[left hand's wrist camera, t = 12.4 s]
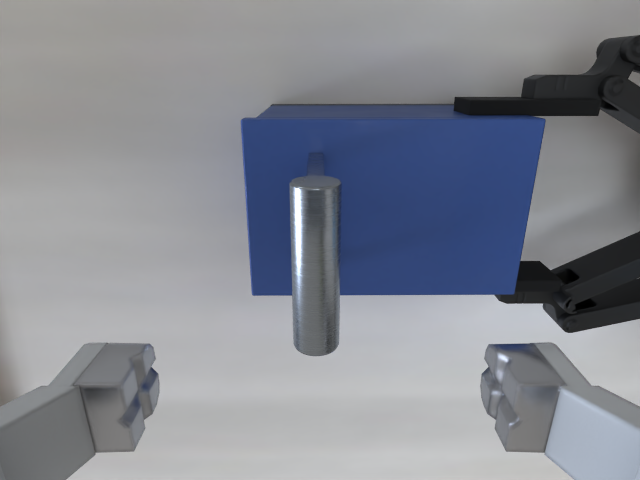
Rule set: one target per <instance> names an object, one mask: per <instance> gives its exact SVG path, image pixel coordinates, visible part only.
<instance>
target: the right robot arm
mask: <svg viewBox="0 0 640 480" xmlns="http://www.w3.org/2000/svg"><path fill="white" fill-rule="evenodd" d="M596 54H597V60H596V62H595V63H594V65H593V66H592V68H591V69H590V70H589V71H587V72H586V73H584V74H581V75H533V76H530V77H528V78H525V79H524V83H523V89H522V95H521V97H455V102H454V111H456V112H459V113H463V114H466V115H529V116H598V114H599V110H600V109H601V110H603V111H604V112H606V113H607V114H609V115H611V116H612V117H614V118H615V119H617V120H619V121H620V122H622V123H624V124H625V125H627V126H628V127H630V128H632V129H633V130H635V131H637V132H638V133H640V87H639V86H638V85H636V84H634V83H633V82H631V81H630V80H628V77H629V76H630V74H631V72H632V71H634V72H637V73H640V35H637V36H628V37H619V38H610V39H606V40H604V41H603V42H602V43H600V45H599V46H598V48H597V52H596ZM639 277H640V231H639V232H637V233H635V234H633V235H631V236H628V237H626V238H624V239H621V240H619V241H617V242H615V243H612V244H610V245H608V246H605V247H603V248H601V249H598V250H596V251H594V252H592V253H589V254H587V255H585V256H582V257H580V258H578V259H576V260H573V261H571V262H569V263H566V264H564V265H562V266H560V267H557V268H555V269H553V270H549V269H548V268H547V267H546V266H545V265H543V264H542V263H541V262H540V261H520V265H519V270H518V276H517V281H516V287H515V293H514V294H496V295H495V296H496V297H497V299H498V300H499V301H501V302H504V303H507V304H512V303H543V309H544V310H545V311H546V312H547V313H548V315H549V316H550V317H551V318H552V319H553V320H554V321H555V322H556V323H557V324H558V325H559V326H560V327H561V328H562V329H563V330H564V331H565V332H568V333H573V332H578V331H582V330H587V329H592V328H597V327H602V326H607V325H611V324H616V323H621V322H626V321H631V320H636V319H640V278H639ZM637 278H638V279H637Z"/></svg>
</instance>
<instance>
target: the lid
mask: <svg viewBox="0 0 640 480" xmlns="http://www.w3.org/2000/svg"><path fill="white" fill-rule="evenodd" d="M544 126H545V119H543V118H538V117H440V118H243V119H242V120H241V132H242V148H243V163H244V179H245V194H246V210H247V225H248V241H249V256H250V272H251V287H252V295H254V296H255V295H292V301H293V339H294V346H295V347H296V349H297V350H298V351H299V352H301V353H303V354H306V355H310V356H323V355H327V354H329V353H331V352H333V351H334V350H335V349H336V348H337V347H338V345H339V314H340V295H496V294H514V293H515V287H516V281H517V276H518V270H519V265H520V259H521V254H522V248H523V243H524V237H525V232H526V226H527V221H528V215H529V209H530V204H531V198H532V193H533V187H534V182H535V176H536V171H537V165H538V160H539V154H540V149H541V143H542V138H543V132H544Z"/></svg>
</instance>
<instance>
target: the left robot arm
mask: <svg viewBox="0 0 640 480" xmlns="http://www.w3.org/2000/svg"><path fill="white" fill-rule="evenodd" d="M155 359H156V358H155V353H154V348H153V346H152V345H151V344H139V343H88V344H84V345H83V346H82V348H81V349H80V350H79V351H78V352H77V353H76V354H75V356H74V357H73V358H72V359H71V360H70V361H69V363H68V364H67V365H66V366H65V367H64V368H63V369H62V371H61V372H60V373H59V374H58V375H57V376H56V377H55V379H54V380H53V381H52V382H51V383H50V384H49V385H48V386H40V387H38V388H36V389H34V390H32V391H30V392H28V393H26V394H24V395H22V396H20V397H19V398H17V399H15V400H13V401H11V402H9V403H7V404H5V405H3V406H1V407H0V480H66V479H67V478H68V477H70V476H71V475H72V474H73V473H74V472H75V471H77V470H78V469H79V468H80V467H81V466H83V465H84V464H85V463H86V462H87V461H88V460H90V459H91V458H92V457H93V456H94V455H95V453H97V452H132V451H134V450H135V448H136V446H137V444H138V442H139V440H140V438H141V436H142V434H143V432H144V430H145V424H144V420H145V419H146V418H147V417H149V416H150V415H152V414H153V412H154V409H155V407H156V405H157V401H158V396H159V376H158V373H157V372H156V371H155V370H154V369H153V368H152V367H151V366H152V364H153V363H154V361H155ZM484 359H485V361H486V363H487V364H488V366H489V367H488V368H487V369H486V370H485V371H484V372H483V373H482V377H481V385H480V387H481V398H482V401H483V405H484V407H485V409H486V412H487V414H488V415H490V416H491V417H493V418H494V419H495V420H496V424H495V430H496V432H497V434H498V436H499V438H500V440H501V442H502V444H503V446H504V448H505V450H506V451H507V452H542V453H545V455H546V456H547V457H548V458H549V459H551V460H552V461H553V462H554V463H555V464H556V465H558V466H559V467H560V468H561V469H562V470H564V471H565V472H566V473H567V474H568V475H569V476H571V477H572V478H573V479H574V480H640V407H639V406H637V405H635V404H633V403H631V402H629V401H627V400H625V399H623V398H621V397H619V396H617V395H616V394H614V393H612V392H610V391H608V390H606V389H604V388H602V387H600V386H592V385H591V384H590V383H589V382H588V381H587V380H586V379H585V377H584V376H583V375H582V374H581V373H580V372H579V371H578V369H577V368H576V367H575V366H574V365H573V364H572V363H571V361H570V360H569V359H568V358H567V357H566V356H565V354H564V353H563V352H562V351H561V350H560V349H559V348H558V346H557V345H555V344H553V343H530V344H489V345H488V347H487V349H486V352H485V358H484Z"/></svg>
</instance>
